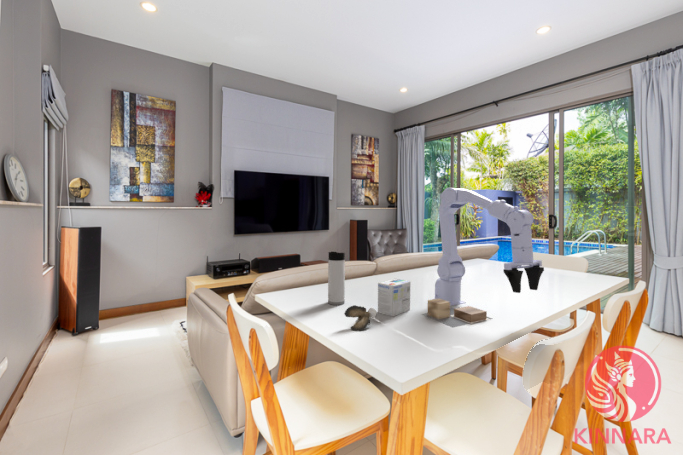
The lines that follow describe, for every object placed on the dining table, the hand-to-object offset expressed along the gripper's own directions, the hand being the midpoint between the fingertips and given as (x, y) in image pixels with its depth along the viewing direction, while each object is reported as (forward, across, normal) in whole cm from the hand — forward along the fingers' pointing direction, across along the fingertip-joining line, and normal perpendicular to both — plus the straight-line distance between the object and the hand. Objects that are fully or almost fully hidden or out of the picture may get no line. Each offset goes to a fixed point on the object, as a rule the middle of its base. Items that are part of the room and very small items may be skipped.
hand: (525, 291), depth 102 cm
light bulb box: (+7, -33, +26) cm, 42 cm away
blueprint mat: (+9, -16, +13) cm, 23 cm away
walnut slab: (+8, -13, +10) cm, 19 cm away
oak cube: (+8, -22, +16) cm, 28 cm away
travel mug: (+5, -47, +44) cm, 64 cm away
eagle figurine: (+8, -50, +18) cm, 53 cm away
